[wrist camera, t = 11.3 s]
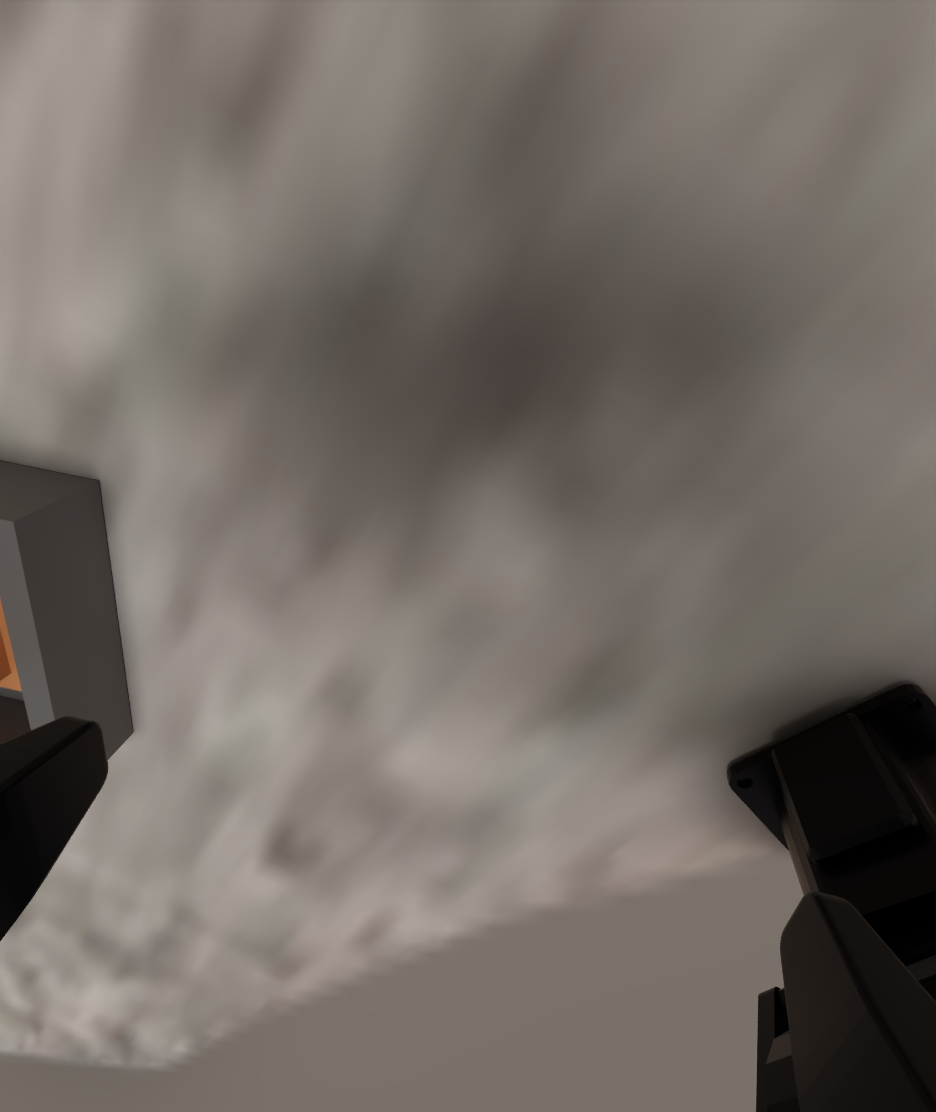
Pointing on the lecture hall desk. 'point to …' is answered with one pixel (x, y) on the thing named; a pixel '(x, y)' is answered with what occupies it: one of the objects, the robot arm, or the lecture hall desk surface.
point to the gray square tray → (59, 605)
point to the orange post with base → (7, 658)
